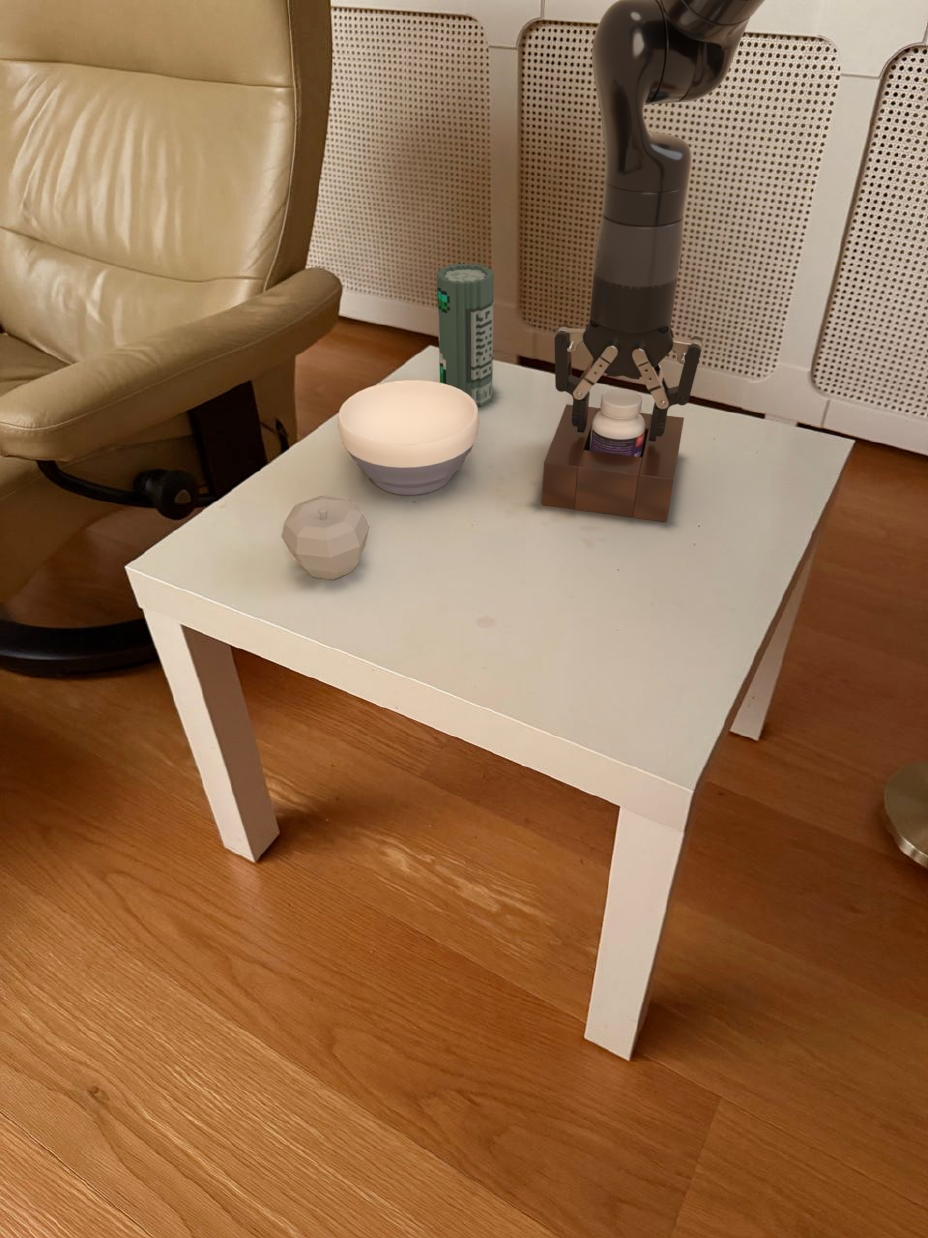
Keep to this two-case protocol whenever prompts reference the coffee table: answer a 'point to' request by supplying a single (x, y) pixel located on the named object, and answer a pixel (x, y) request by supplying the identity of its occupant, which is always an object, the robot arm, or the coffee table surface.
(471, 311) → the can
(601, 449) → the pill bottle
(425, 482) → the bowl
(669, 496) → the socket pad
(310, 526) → the apple
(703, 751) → the coffee table surface
